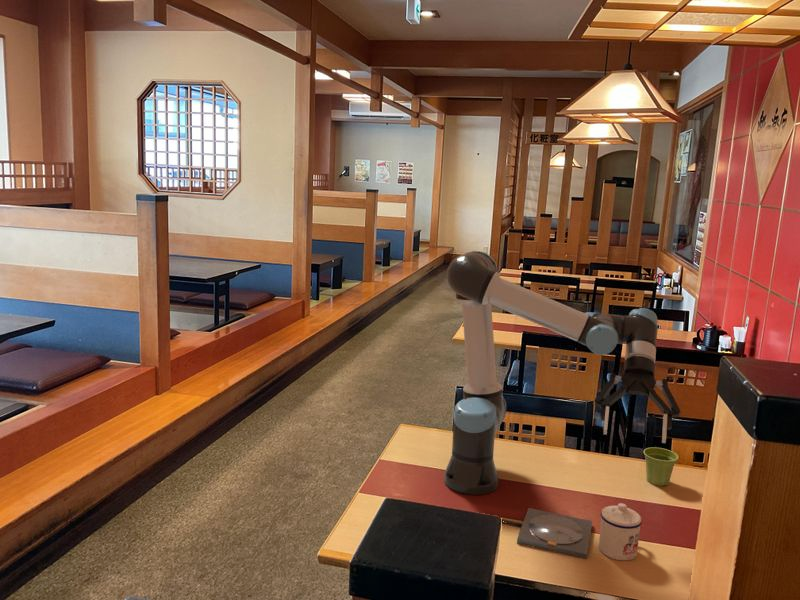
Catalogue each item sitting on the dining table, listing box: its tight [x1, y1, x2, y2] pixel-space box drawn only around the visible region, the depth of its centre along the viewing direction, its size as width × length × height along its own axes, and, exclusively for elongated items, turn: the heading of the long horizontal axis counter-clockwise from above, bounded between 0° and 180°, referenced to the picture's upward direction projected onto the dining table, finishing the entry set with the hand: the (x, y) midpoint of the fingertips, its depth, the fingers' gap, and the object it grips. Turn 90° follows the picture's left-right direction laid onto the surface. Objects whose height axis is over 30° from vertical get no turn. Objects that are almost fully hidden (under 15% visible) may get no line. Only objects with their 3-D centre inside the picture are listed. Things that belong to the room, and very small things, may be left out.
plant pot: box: [642, 446, 679, 487], centre depth 186 cm, size 9×9×9 cm
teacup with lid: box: [598, 502, 643, 561], centre depth 150 cm, size 12×9×12 cm
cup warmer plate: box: [501, 507, 593, 560], centre depth 157 cm, size 23×16×2 cm
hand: (634, 436), depth 156 cm, fingers open, 13 cm apart
